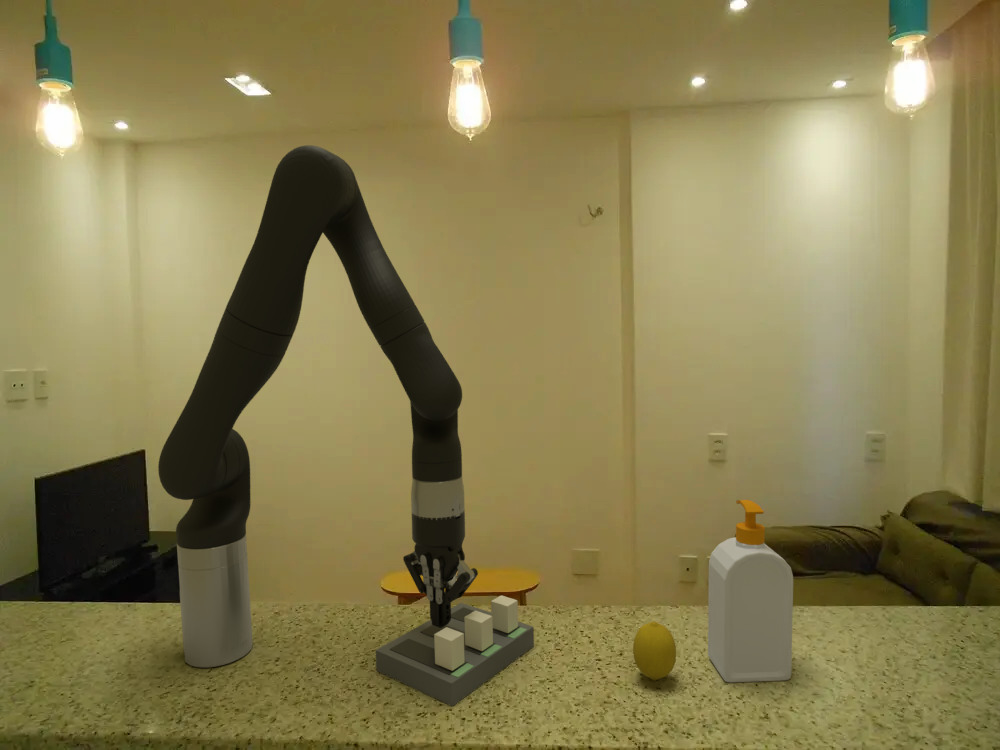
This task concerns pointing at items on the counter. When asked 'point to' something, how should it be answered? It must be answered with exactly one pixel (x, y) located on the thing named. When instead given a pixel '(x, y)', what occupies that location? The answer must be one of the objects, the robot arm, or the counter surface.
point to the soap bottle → (750, 606)
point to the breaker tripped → (478, 630)
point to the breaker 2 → (504, 613)
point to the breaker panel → (417, 668)
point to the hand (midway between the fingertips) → (440, 624)
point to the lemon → (654, 650)
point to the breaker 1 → (449, 648)
